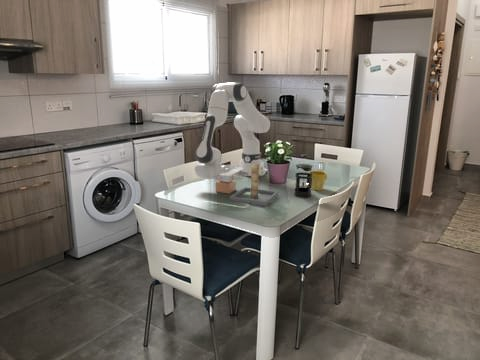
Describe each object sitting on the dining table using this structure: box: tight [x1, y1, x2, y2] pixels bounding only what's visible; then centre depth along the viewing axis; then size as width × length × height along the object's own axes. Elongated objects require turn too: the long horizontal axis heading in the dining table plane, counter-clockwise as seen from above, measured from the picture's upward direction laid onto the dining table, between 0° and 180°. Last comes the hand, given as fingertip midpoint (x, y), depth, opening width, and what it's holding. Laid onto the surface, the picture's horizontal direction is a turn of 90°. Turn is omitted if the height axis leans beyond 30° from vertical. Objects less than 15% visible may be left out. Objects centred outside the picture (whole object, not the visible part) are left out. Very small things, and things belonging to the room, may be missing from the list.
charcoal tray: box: [229, 186, 279, 207], centre depth 213 cm, size 20×20×2 cm
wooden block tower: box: [250, 164, 260, 199], centre depth 211 cm, size 4×4×18 cm
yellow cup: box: [308, 170, 328, 191], centre depth 232 cm, size 10×10×10 cm
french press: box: [293, 153, 314, 199], centre depth 217 cm, size 12×9×23 cm
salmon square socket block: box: [215, 180, 237, 194], centre depth 223 cm, size 8×8×6 cm
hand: (245, 176), depth 212 cm, fingers open, 8 cm apart
